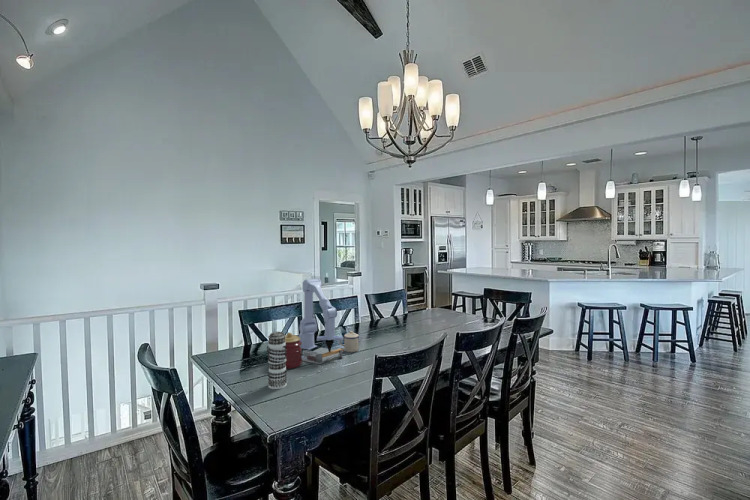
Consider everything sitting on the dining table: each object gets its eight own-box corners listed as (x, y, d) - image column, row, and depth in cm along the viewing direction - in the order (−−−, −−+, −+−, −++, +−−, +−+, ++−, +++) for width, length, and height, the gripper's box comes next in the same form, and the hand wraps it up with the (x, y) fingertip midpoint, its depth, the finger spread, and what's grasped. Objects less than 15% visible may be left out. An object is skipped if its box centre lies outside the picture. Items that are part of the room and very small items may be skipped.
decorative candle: (279, 380, 186) (278, 329, 185) (291, 384, 180) (290, 332, 179) (263, 385, 179) (262, 333, 178) (275, 391, 173) (274, 336, 172)
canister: (296, 369, 200) (295, 336, 199) (273, 368, 202) (272, 335, 201) (305, 361, 212) (305, 330, 211) (284, 360, 215) (283, 329, 214)
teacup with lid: (359, 348, 236) (359, 329, 236) (357, 352, 227) (357, 333, 227) (340, 347, 238) (340, 329, 237) (337, 352, 229) (337, 332, 228)
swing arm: (318, 362, 206) (318, 356, 206) (315, 361, 209) (315, 354, 208) (346, 354, 221) (346, 347, 220) (342, 352, 223) (342, 346, 223)
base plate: (297, 359, 215) (296, 351, 215) (321, 349, 234) (320, 341, 234) (327, 366, 205) (327, 357, 205) (349, 354, 224) (349, 346, 224)
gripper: (316, 331, 212) (316, 355, 212) (342, 331, 212) (342, 355, 213) (317, 327, 219) (317, 351, 219) (343, 327, 219) (343, 351, 220)
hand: (329, 352), depth 217 cm, fingers closed, pressing on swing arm
